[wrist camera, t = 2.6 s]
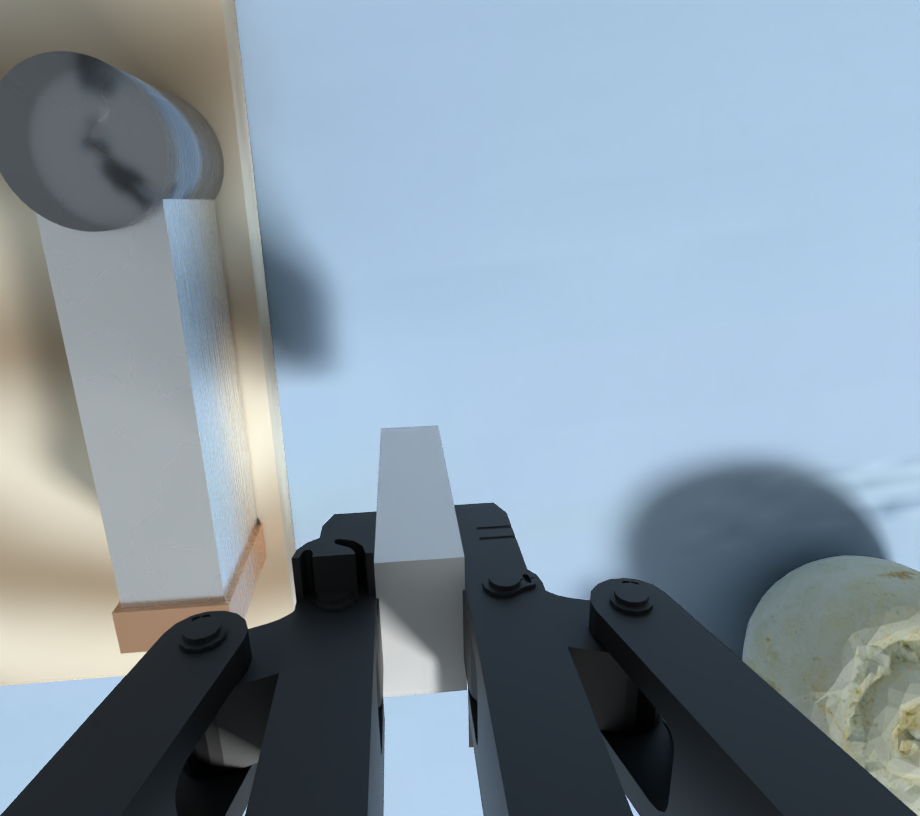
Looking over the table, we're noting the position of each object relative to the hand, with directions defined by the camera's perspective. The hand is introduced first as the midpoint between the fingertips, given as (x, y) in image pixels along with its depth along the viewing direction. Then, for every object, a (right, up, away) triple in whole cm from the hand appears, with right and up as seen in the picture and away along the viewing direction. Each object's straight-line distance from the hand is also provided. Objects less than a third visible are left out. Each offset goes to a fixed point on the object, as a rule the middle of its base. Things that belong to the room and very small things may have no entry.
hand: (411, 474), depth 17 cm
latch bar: (-6, +3, +1) cm, 7 cm away
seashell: (+15, -9, +9) cm, 20 cm away
